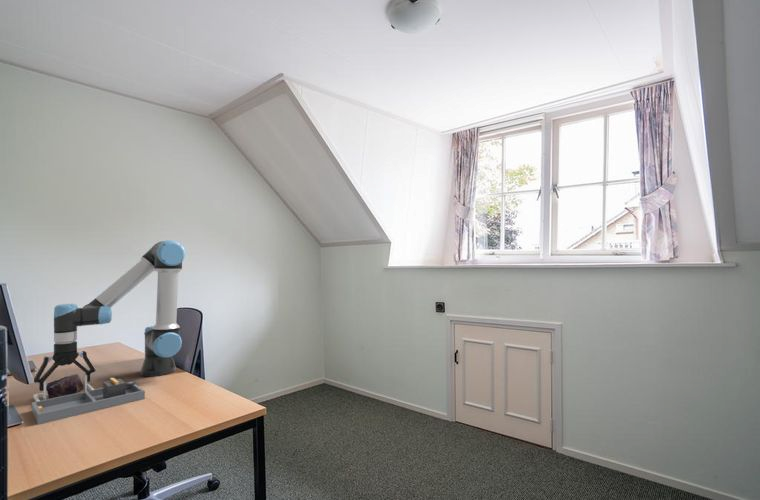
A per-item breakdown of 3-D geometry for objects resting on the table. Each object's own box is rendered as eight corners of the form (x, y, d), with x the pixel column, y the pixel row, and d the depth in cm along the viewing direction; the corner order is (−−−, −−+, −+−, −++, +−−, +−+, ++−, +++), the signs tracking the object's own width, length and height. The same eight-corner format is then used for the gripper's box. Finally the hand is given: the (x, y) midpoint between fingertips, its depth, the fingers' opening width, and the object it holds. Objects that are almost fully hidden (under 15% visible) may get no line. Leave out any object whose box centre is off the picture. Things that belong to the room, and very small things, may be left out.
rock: (49, 399, 166) (48, 406, 158) (45, 379, 166) (43, 385, 157) (84, 389, 173) (84, 395, 165) (80, 370, 173) (80, 375, 164)
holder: (132, 389, 174) (132, 371, 175) (144, 398, 163) (144, 379, 163) (31, 411, 151) (31, 390, 151) (37, 424, 139) (37, 401, 139)
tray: (88, 387, 178) (88, 383, 178) (97, 396, 166) (97, 392, 166) (33, 398, 165) (33, 394, 165) (39, 408, 153) (39, 404, 153)
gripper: (99, 336, 177) (99, 385, 177) (24, 345, 159) (24, 400, 159) (103, 338, 172) (103, 388, 172) (26, 348, 154) (26, 404, 154)
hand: (65, 394), depth 165 cm, fingers closed on rock, 13 cm apart
